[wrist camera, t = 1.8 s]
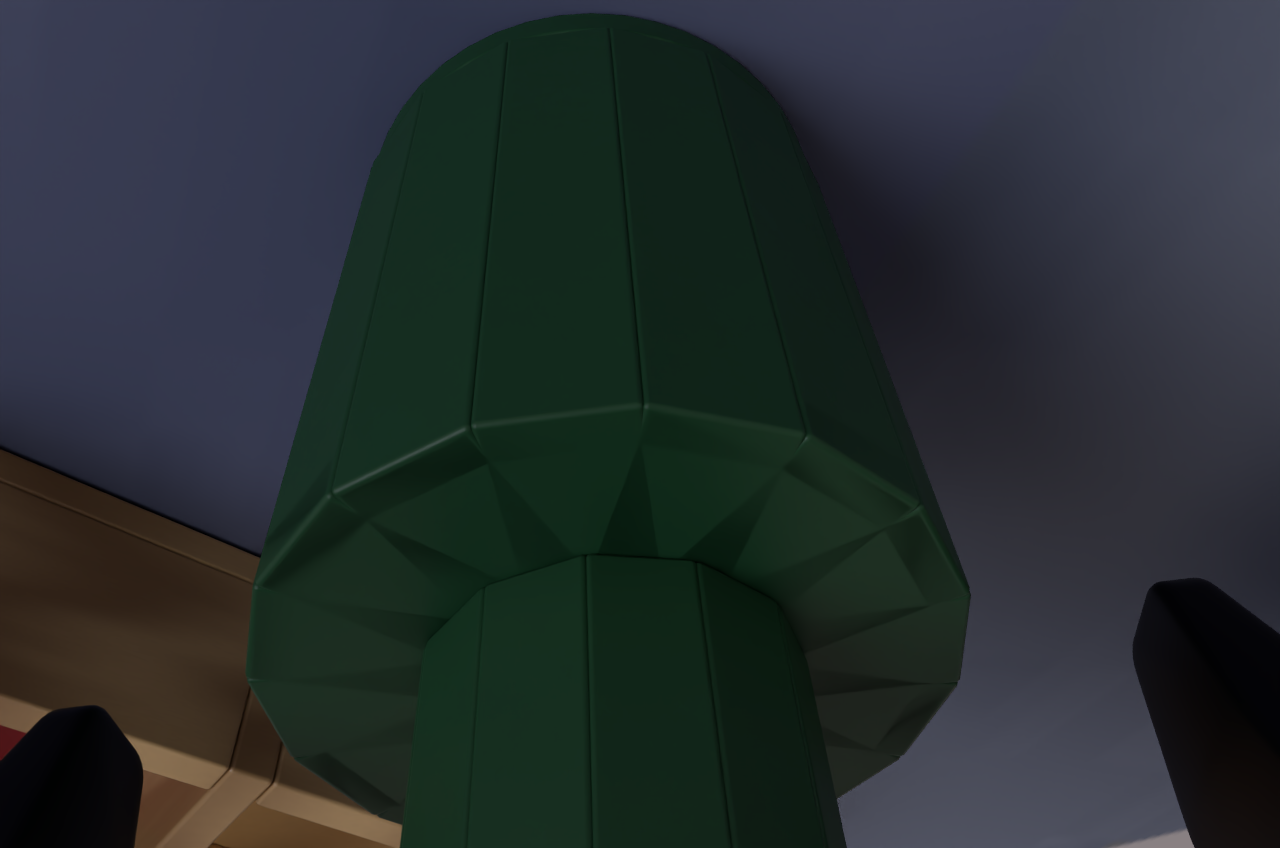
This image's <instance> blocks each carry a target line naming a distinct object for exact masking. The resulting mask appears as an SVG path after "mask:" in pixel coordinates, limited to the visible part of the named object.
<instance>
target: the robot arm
mask: <svg viewBox="0 0 1280 848" xmlns="http://www.w3.org/2000/svg"><path fill="white" fill-rule="evenodd" d="M1133 660H1134V666H1135V669H1136V673H1137V676H1138V679H1139V682H1140V685H1141V688H1142V692H1143V695H1144V698H1145V701H1146V704H1147V707H1148V710H1149V713H1150V716H1151V719H1152V723H1153V726H1154V729H1155V732H1156V735H1157V738H1158V741H1159V744H1160V747H1161V750H1162V754H1163V757H1164V760H1165V763H1166V766H1167V769H1168V772H1169V775H1170V778H1171V781H1172V785H1173V788H1174V791H1175V794H1176V797H1177V800H1178V803H1179V806H1180V809H1181V812H1182V815H1183V818H1184V821H1185V824H1186V826H1187V829H1188V832H1189V835H1190V838H1191V840H1192V843H1193V845H1194V847H1195V848H1280V634H1279V633H1277V632H1276V631H1275V630H1273V629H1272V628H1271V627H1269V626H1268V625H1267V624H1265V623H1264V622H1263V621H1261V620H1260V619H1259V618H1258V617H1256V616H1255V615H1254V614H1252V613H1251V612H1250V611H1248V610H1247V609H1246V608H1244V607H1243V606H1242V605H1240V604H1239V603H1238V602H1236V601H1235V600H1234V599H1232V598H1231V597H1230V596H1228V595H1227V594H1226V593H1224V592H1223V591H1222V590H1221V589H1219V588H1218V587H1217V586H1215V585H1214V584H1212V583H1211V582H1209V581H1206V580H1204V579H1201V578H1187V579H1178V580H1170V581H1161V582H1157V583H1155V584H1154V585H1153V586H1152V587H1150V588H1149V590H1148V593H1147V595H1146V599H1145V602H1144V606H1143V609H1142V612H1141V616H1140V619H1139V623H1138V626H1137V630H1136V633H1135V637H1134V641H1133ZM142 789H143V766H142V762H141V759H140V756H139V754H138V753H137V751H136V750H135V748H134V747H133V746H132V744H131V743H130V742H129V740H128V739H127V737H126V736H125V735H124V733H123V732H122V731H121V729H120V728H119V727H118V725H117V724H116V723H115V721H114V720H113V719H112V717H111V716H110V715H109V713H108V712H107V711H106V710H105V709H104V708H102V707H99V706H97V705H86V706H77V707H68V708H60V709H56V710H53V711H51V712H49V713H47V714H46V715H45V716H43V717H42V718H41V719H40V720H39V721H38V722H37V723H36V724H35V725H34V726H33V727H32V728H31V729H30V730H29V731H28V732H27V733H26V734H25V735H24V736H23V738H22V739H21V740H20V741H19V742H18V743H17V744H16V745H15V746H14V747H13V748H12V749H11V750H10V751H9V752H8V753H7V754H6V755H5V756H4V757H3V758H2V760H1V761H0V848H135V841H136V833H137V826H138V818H139V811H140V803H141V796H142Z"/></svg>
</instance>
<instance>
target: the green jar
mask: <svg viewBox="0 0 1280 848" xmlns="http://www.w3.org/2000/svg"><path fill="white" fill-rule="evenodd" d="M969 588H970V587H969V585H968V582H967V579H966V577H965V574H964V571H963V569H962V566H961V563H960V561H959V558H958V555H957V553H956V550H955V547H954V545H953V542H952V539H951V537H950V534H949V531H948V529H947V526H946V523H945V521H944V518H943V515H942V513H941V510H940V507H939V505H938V502H937V499H936V497H935V494H934V491H933V489H932V486H931V483H930V481H929V478H928V476H927V473H926V470H925V468H924V465H923V462H922V460H921V457H920V454H919V452H918V449H917V446H916V444H915V441H914V438H913V436H912V433H911V430H910V428H909V425H908V422H907V420H906V417H905V414H904V412H903V409H902V406H901V404H900V401H899V398H898V396H897V393H896V390H895V388H894V385H893V382H892V380H891V377H890V374H889V372H888V369H887V366H886V364H885V361H884V358H883V356H882V353H881V350H880V348H879V345H878V342H877V340H876V337H875V334H874V332H873V329H872V326H871V324H870V321H869V318H868V316H867V313H866V310H865V308H864V305H863V302H862V300H861V297H860V294H859V292H858V289H857V286H856V284H855V281H854V278H853V276H852V273H851V270H850V268H849V265H848V262H847V260H846V257H845V254H844V252H843V249H842V247H841V244H840V241H839V239H838V236H837V233H836V231H835V228H834V225H833V223H832V220H831V217H830V215H829V212H828V209H827V207H826V204H825V201H824V199H823V196H822V193H821V191H820V188H819V185H818V183H817V181H816V179H815V177H814V175H813V173H812V171H811V169H810V167H809V165H808V163H807V161H806V159H805V157H804V154H803V152H802V149H801V147H800V144H799V142H798V139H797V137H796V134H795V132H794V130H793V128H792V126H791V124H790V123H789V121H788V119H787V118H786V116H785V114H784V113H783V111H782V109H781V108H780V106H779V105H778V103H777V102H776V101H775V100H774V98H773V97H772V96H771V95H770V94H769V92H768V91H767V90H766V89H765V87H764V86H763V85H762V84H761V83H760V82H759V81H758V80H757V79H756V78H755V77H754V76H753V75H752V74H750V73H749V72H748V71H747V70H746V69H745V68H744V67H743V66H742V65H741V64H740V63H738V62H737V61H735V60H734V59H732V58H731V57H729V56H728V55H727V54H725V53H724V52H722V51H721V50H719V49H718V48H716V47H715V46H713V45H711V44H709V43H707V42H705V41H703V40H701V39H699V38H697V37H695V36H693V35H691V34H689V33H687V32H685V31H682V30H679V29H676V28H673V27H670V26H667V25H664V24H661V23H658V22H655V21H650V20H645V19H640V18H635V17H630V16H625V15H610V14H594V13H589V14H574V15H560V16H554V17H549V18H544V19H539V20H534V21H529V22H525V23H522V24H519V25H517V26H514V27H511V28H508V29H505V30H502V31H499V32H496V33H494V34H492V35H490V36H488V37H486V38H484V39H482V40H481V41H479V42H477V43H475V44H473V45H471V46H469V47H467V48H466V49H464V50H463V51H461V52H460V53H458V54H457V55H456V56H454V57H453V58H451V59H450V60H448V61H447V62H445V63H444V64H443V65H441V66H440V67H439V68H438V69H437V70H436V71H435V72H434V73H433V74H432V75H431V76H430V77H429V78H428V79H426V80H425V81H424V82H423V83H422V84H421V85H420V86H419V87H418V89H417V90H416V91H415V93H414V94H413V95H412V96H411V98H410V99H409V100H408V101H407V103H406V104H405V105H404V106H403V108H402V109H401V111H400V113H399V114H398V116H397V118H396V120H395V121H394V123H393V125H392V126H391V128H390V130H389V132H388V134H387V136H386V139H385V141H384V144H383V147H382V149H381V152H380V154H379V155H378V157H377V158H376V159H375V161H374V163H373V167H372V168H371V171H370V175H369V178H368V182H367V185H366V189H365V192H364V196H363V199H362V203H361V206H360V210H359V213H358V217H357V220H356V224H355V227H354V231H353V235H352V238H351V242H350V245H349V249H348V252H347V256H346V259H345V263H344V266H343V270H342V273H341V277H340V280H339V284H338V287H337V291H336V294H335V298H334V301H333V305H332V308H331V312H330V315H329V319H328V322H327V326H326V329H325V333H324V336H323V340H322V343H321V347H320V351H319V354H318V358H317V361H316V365H315V368H314V372H313V375H312V379H311V382H310V386H309V389H308V393H307V396H306V400H305V403H304V407H303V410H302V414H301V417H300V421H299V424H298V428H297V431H296V435H295V438H294V442H293V445H292V449H291V452H290V456H289V459H288V463H287V467H286V470H285V474H284V477H283V481H282V484H281V488H280V491H279V495H278V498H277V502H276V505H275V509H274V512H273V516H272V519H271V523H270V526H269V530H268V533H267V537H266V540H265V544H264V547H263V551H262V554H261V558H260V561H259V565H258V568H257V572H256V575H255V579H254V583H253V586H252V598H251V610H250V621H249V633H248V644H247V656H246V668H245V674H246V677H247V682H248V684H249V686H250V687H251V689H252V691H253V693H254V694H255V696H256V698H257V699H258V701H259V703H260V705H261V706H262V708H263V710H264V711H265V713H266V715H267V717H268V718H269V720H270V722H271V723H272V725H273V727H274V729H275V730H276V732H277V734H278V735H279V737H280V739H281V741H282V742H283V744H284V746H285V747H286V749H287V751H288V753H289V754H290V756H292V757H294V759H295V761H296V762H298V763H299V764H300V765H302V766H303V767H305V768H306V769H308V770H309V771H310V772H312V773H313V774H315V775H316V776H318V777H319V778H321V779H322V780H323V781H325V782H326V783H328V784H329V785H331V786H332V787H334V788H335V789H336V790H338V791H339V792H341V793H342V794H344V795H345V796H347V797H348V798H349V799H351V800H352V801H354V802H355V803H357V804H358V805H360V806H361V807H362V808H364V809H365V810H367V811H368V812H370V813H371V814H373V815H377V816H378V817H379V818H382V819H385V820H388V821H391V822H394V823H397V824H400V825H402V832H401V840H400V848H847V846H846V842H845V837H844V832H843V828H842V823H841V818H840V813H839V809H838V804H837V798H839V797H841V796H842V795H844V794H845V793H847V792H848V791H850V790H852V789H853V788H855V787H856V786H858V785H859V784H861V783H863V782H864V781H866V780H867V779H869V778H870V777H872V776H874V775H875V774H877V773H878V772H880V771H881V770H883V769H885V768H886V767H888V766H889V765H891V764H892V763H894V762H896V761H897V760H899V758H900V756H902V755H904V754H905V753H906V752H907V750H908V749H909V748H910V746H911V745H912V744H913V742H914V741H915V740H916V739H917V737H918V736H919V735H920V733H921V732H922V731H923V729H924V728H925V727H926V725H927V724H928V723H929V722H930V720H931V719H932V718H933V716H934V715H935V714H936V712H937V711H938V710H939V708H940V707H941V706H942V705H943V703H944V702H945V701H946V699H947V698H948V697H949V695H950V694H951V693H952V691H953V690H954V689H955V688H956V686H957V683H958V681H959V680H960V674H961V666H962V659H963V651H964V643H965V636H966V628H967V620H968V613H969V605H970V597H971V594H970V591H969Z"/></svg>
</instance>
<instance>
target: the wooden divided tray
mask: <svg viewBox="0 0 1280 848" xmlns="http://www.w3.org/2000/svg"><path fill="white" fill-rule="evenodd" d="M259 561H260V558H259V557H257V556H254V555H252V554H249V553H247V552H245V551H242V550H240V549H238V548H235V547H233V546H230V545H228V544H226V543H223V542H221V541H218V540H216V539H214V538H211V537H209V536H207V535H204V534H202V533H199V532H197V531H195V530H192V529H190V528H187V527H185V526H183V525H180V524H178V523H176V522H173V521H171V520H168V519H166V518H164V517H161V516H159V515H156V514H154V513H152V512H149V511H147V510H144V509H142V508H140V507H137V506H135V505H133V504H130V503H128V502H125V501H123V500H121V499H118V498H116V497H113V496H111V495H109V494H106V493H104V492H102V491H99V490H97V489H94V488H92V487H90V486H87V485H85V484H82V483H80V482H78V481H75V480H73V479H70V478H68V477H66V476H63V475H61V474H59V473H56V472H54V471H51V470H49V469H47V468H44V467H42V466H39V465H37V464H35V463H32V462H30V461H28V460H25V459H23V458H20V457H18V456H16V455H13V454H11V453H8V452H6V451H4V450H1V449H0V761H1V760H2V758H3V757H4V756H5V755H6V754H7V753H8V752H9V751H10V750H11V749H12V748H13V747H14V746H15V745H16V744H17V743H18V742H19V741H20V740H21V739H22V738H23V736H24V735H25V734H26V733H27V732H28V731H29V730H30V729H31V728H32V727H33V726H34V725H35V724H36V723H37V722H38V721H39V720H40V719H41V718H42V717H43V716H45V715H46V714H47V713H49V712H51V711H53V710H56V709H60V708H68V707H77V706H86V705H97V706H99V707H102V708H104V709H105V710H106V711H107V712H108V713H109V715H110V716H111V717H112V719H113V720H114V721H115V723H116V724H117V725H118V727H119V728H120V729H121V731H122V732H123V733H124V735H125V736H126V737H127V739H128V740H129V742H130V743H131V744H132V746H133V747H134V748H135V750H136V751H137V753H138V754H139V756H140V759H141V762H142V766H143V789H142V796H141V803H140V811H139V818H138V826H137V833H136V841H135V848H400V840H401V832H402V825H400V824H397V823H394V822H391V821H388V820H385V819H382V818H379V817H378V816H377V815H373V814H371V813H370V812H368V811H367V810H365V809H364V808H362V807H361V806H360V805H358V804H357V803H355V802H354V801H352V800H351V799H349V798H348V797H347V796H345V795H344V794H342V793H341V792H339V791H338V790H336V789H335V788H334V787H332V786H331V785H329V784H328V783H326V782H325V781H323V780H322V779H321V778H319V777H318V776H316V775H315V774H313V773H312V772H310V771H309V770H308V769H306V768H305V767H303V766H302V765H300V764H299V763H298V762H296V761H295V759H294V757H292V756H290V754H289V753H288V751H287V749H286V747H285V746H284V744H283V742H282V741H281V739H280V737H279V735H278V734H277V732H276V730H275V729H274V727H273V725H272V723H271V722H270V720H269V718H268V717H267V715H266V713H265V711H264V710H263V708H262V706H261V705H260V703H259V701H258V699H257V698H256V696H255V694H254V693H253V691H252V689H251V687H250V686H249V684H248V682H247V677H246V674H245V668H246V656H247V644H248V633H249V621H250V610H251V598H252V586H253V583H254V579H255V575H256V572H257V568H258V565H259Z"/></svg>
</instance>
